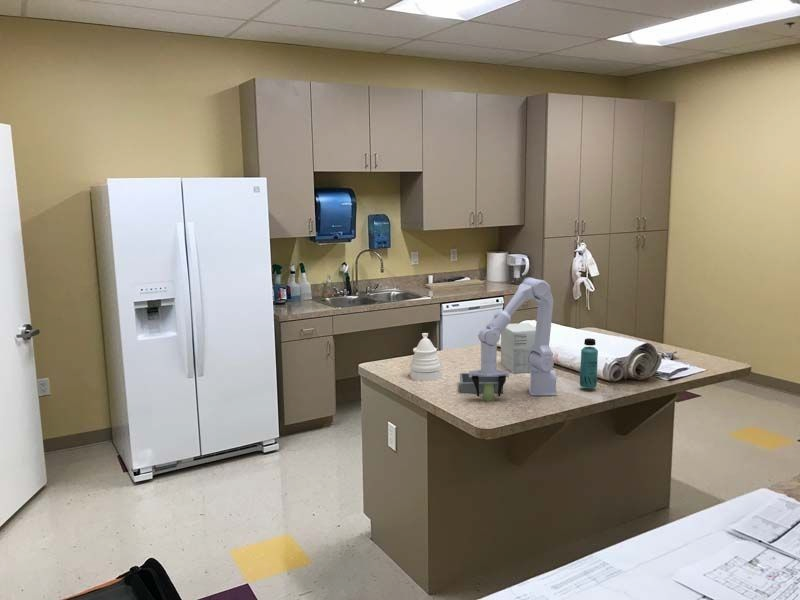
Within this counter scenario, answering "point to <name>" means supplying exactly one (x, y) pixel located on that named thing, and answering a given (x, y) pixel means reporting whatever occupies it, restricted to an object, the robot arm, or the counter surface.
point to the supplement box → (517, 346)
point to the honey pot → (425, 361)
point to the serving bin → (469, 386)
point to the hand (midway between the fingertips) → (488, 395)
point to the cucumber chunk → (488, 391)
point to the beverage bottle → (588, 365)
